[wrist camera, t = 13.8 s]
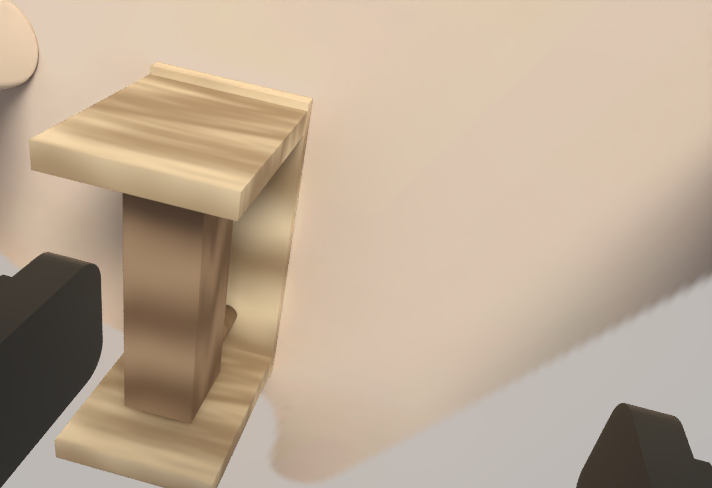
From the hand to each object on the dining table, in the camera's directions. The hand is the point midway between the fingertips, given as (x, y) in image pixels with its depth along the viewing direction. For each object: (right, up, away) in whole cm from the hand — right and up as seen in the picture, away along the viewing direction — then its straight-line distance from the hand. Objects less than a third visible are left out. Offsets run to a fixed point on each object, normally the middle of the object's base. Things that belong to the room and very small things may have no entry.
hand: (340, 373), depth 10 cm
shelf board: (-10, 0, +31) cm, 33 cm away
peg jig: (-9, +3, +35) cm, 37 cm away
